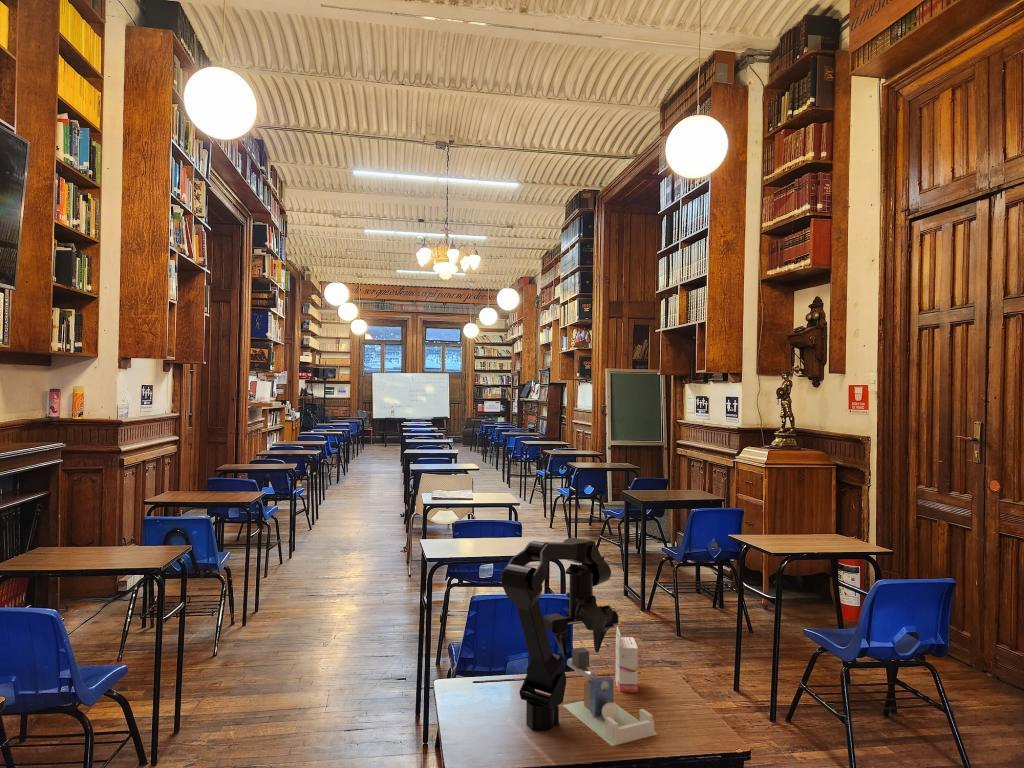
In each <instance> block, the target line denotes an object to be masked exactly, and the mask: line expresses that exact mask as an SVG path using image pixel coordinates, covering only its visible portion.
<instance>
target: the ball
mask: <svg viewBox="0 0 1024 768" xmlns="http://www.w3.org/2000/svg"><path fill="white" fill-rule="evenodd" d="M614 703H615V702H614ZM614 703H612V702H608V703H606V704H604V705H603V707H602V716H603V718H604V719H605V718H606V717H610V718H612V719H613V720H614V721H615V720H617V718H618V717H619V708H618V707H617V705H618V704H617V703H615V704H614Z"/></svg>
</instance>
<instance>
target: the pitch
mask: <svg viewBox="0 0 1024 768" xmlns="http://www.w3.org/2000/svg"><path fill="white" fill-rule="evenodd" d="M613 703H614V704H616V703H615V702H614V701H613ZM616 705H617V707H618V708H619V717H618V718H617V720H615V722H617V723H618V727H621V726H625V725H629V724H633V723H637V722H639V719H638V718H636V717H635V716H633V715H631V714H630V713H629V712H628V711H626V710H625V709H623V708H622V707H620V706H619V705H618V704H616ZM562 707H564V708H565V709H566V710H567V711H568V712H570V713H571V714H572V715H573V716H574V717H576V719H578V720H580V722H582V723H583V724H584V725H585V726H586V727H588V728H589V729H590V730H591V731H593V732H594V733H595V734H596V735H598V736H599V737H600V738H601V739H602V740H604V741H605V742H606V743H607V744H608V745H610V746H611V747H615V746H618V745H619V744H617V745H615V744H614V743H613V742H612V741H610V740H609V739H608V738H607V737H605V719H604V718H603V716H602V714H601V715H596V716H595V715H594V714H592V713H591V712H590V681H589V680H585V681H583V700H581V701H576V702H572V703H571V702H570V703H567V704H562ZM658 735H659V734H658V733H657V732H656V731H654V735H653V736H658ZM653 736H652V737H653ZM650 737H651V736H649V737H648V738H650ZM645 738H647V737H645ZM645 738H644V739H645ZM641 739H643V738H641ZM641 739H640V740H641ZM637 740H639V739H637ZM637 740H636V741H637ZM634 741H635V740H633V741H632V742H634ZM629 742H631V741H629ZM629 742H628V743H629ZM626 743H627V742H625V743H624V744H626ZM622 744H623V743H621V744H620V745H622Z"/></svg>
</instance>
